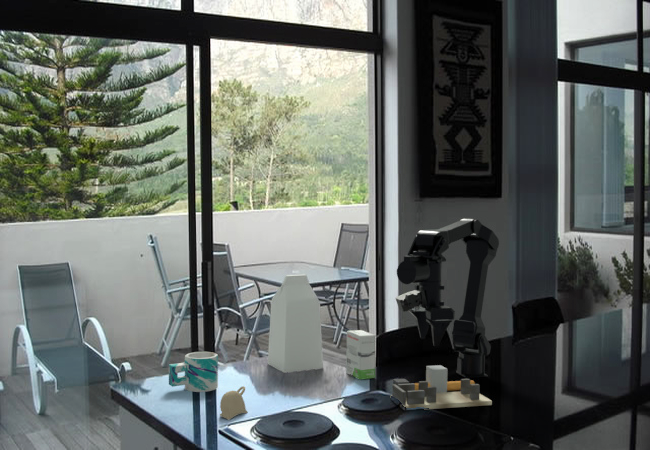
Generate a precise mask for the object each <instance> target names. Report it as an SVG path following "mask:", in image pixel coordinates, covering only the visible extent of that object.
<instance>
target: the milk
mask: <svg viewBox="0 0 650 450" xmlns="http://www.w3.org/2000/svg"><path fill="white" fill-rule="evenodd" d="M321 312H322V311H321V303H320V300H319V298H318V296H317V294H316V292H315V291H314V289H313V287H312V286H311V284H310V282H309V279H308V276H307V274H286V275H285V276H284V279H283V281H282V283H281V285H280V287H279V288H278V289H277V291H276V292H275V293H274V295H273V296H272V298H271V302H270V315H269V334H268V335H269V336H268V351H267V353H268V354H267V364H268V365H269V366H270V367H273V368H275V369H276V370H278V371H280V372H282V373H284V374H286V373H287V372H288V373H294V372H293V371H297V372H300V371H299V370H306V371H309V370H308V369H315V370H320V369H319V368H323V369H324V360H323V359H324V358H323V357H324V356H323V335H322V316H321V315H322V314H321Z"/></svg>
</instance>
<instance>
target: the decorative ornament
mask: <svg viewBox="0 0 650 450" xmlns="http://www.w3.org/2000/svg"><path fill="white" fill-rule="evenodd" d="M240 391H241V392H240ZM245 391H246V387H245V386H241V387H239V388H238V389H237V390H229V391H227V392H225V393H224V394H223V395H222V397H221V399H220V402H219V403H220V406H219V408H220V412H221V413H220V414H219V415H220V417H222V418H224V419H227V420H228V421H230V420H231V419H232V418H234V417H236V416H237V415H240V414H248V411H247V408H246V404H245V400H244V398H243V396H242V395H243V394H244V393H245Z"/></svg>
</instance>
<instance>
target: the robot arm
mask: <svg viewBox="0 0 650 450" xmlns="http://www.w3.org/2000/svg"><path fill="white" fill-rule="evenodd" d="M460 240H461V241H462V242H463V244H464V245H465V254H466V256H467V258H468V261H469V267H468V276H467V282H466V289H465V295H464V296H465V297H464V302H463V303H464V304H463V310H462V314H461V315H460V317H459V318H458V319H457V318H456V311H455V310H454V309H453V308H452V307H450V306H447V305H445V301H443V300H442V290H443V291H444V290H445V285H444V284H443V282H442V279H443V278H442V275H443V274H442V273H443V271H442V269H443V268H442V267H443V264H442V263H445V262H446V261H447V258H446V257H445V256H444V255H443V254H444V253H445V252H446V251H448V249H449V248H450V245H451V244H452V243H455V242H457V241H460ZM499 245H500V240H499V238H498V236H497V235H496V234H495V232H494V231H493V230H492V229H490V228H489V227H487V226H485V225H484V224H482V222H481V221H480V219H476V218H465V217H463V218H461V219H460V220H458V221H456V222H453V223H450V224H448V225H446V226H443V227H440V228H438V229H423V230H422V229H420V230H419V231H417V233H416V235H415V237H414V239H413V241H412V243H411V246H410V247H409V251H408V253H407V255H404V256H403V261H401V262H400V263H399V265H398V266H397V268H396V276H397V279H398V280H399V281H400V282H401V283H402V284H404V285H412V284H415V285H414V290H411V291H408V292H405V293H403V294H401V295H397V296H396V297H395V300H396V303H397V306H398V310H400V311H402V312H403V313H405V312H409V313H410V314H411V315H412V316H413V317H414V318H415V321H416V326H417V329H418V334H419V337H420V339H421V340H422V339H424V340H425V339H426V337H427V334H428V330H429V327H431V337H432V344H433V346H434V347H439V346H440V343H441V341H442V338H443V337H444V335H445V333H446V331H447V330H448V328H449V326H450V324H451V323H452V322H453V328H452V331H451V339H452V340H451V341H452V345H453V351H454V352H456V353H457V352H458V357H457V362H456V364H457V366H456V370H455V371H456V372H455V373H456V374H457V375H460V376H462V377H464V379H470V378H471V379H472V378H473V379H474V378H487V377H488V374H486V373H485V368H486V367H485V365H486V364H485V361H486V357H487V356H489V355H490V353H491V350H492V349H491V348H492V346H491V343H490V342H489V341H488V339H487V336H486V327H485V324H484V322H483V320H482V310H483V306H484V305H483V304H484V298H485V297H484V296H485V290H486V283H487V276H488V269H489V266H490V264H491V262H493V260H494V259H495V257H497V252H498V248H499ZM453 320H454V321H453Z"/></svg>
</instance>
